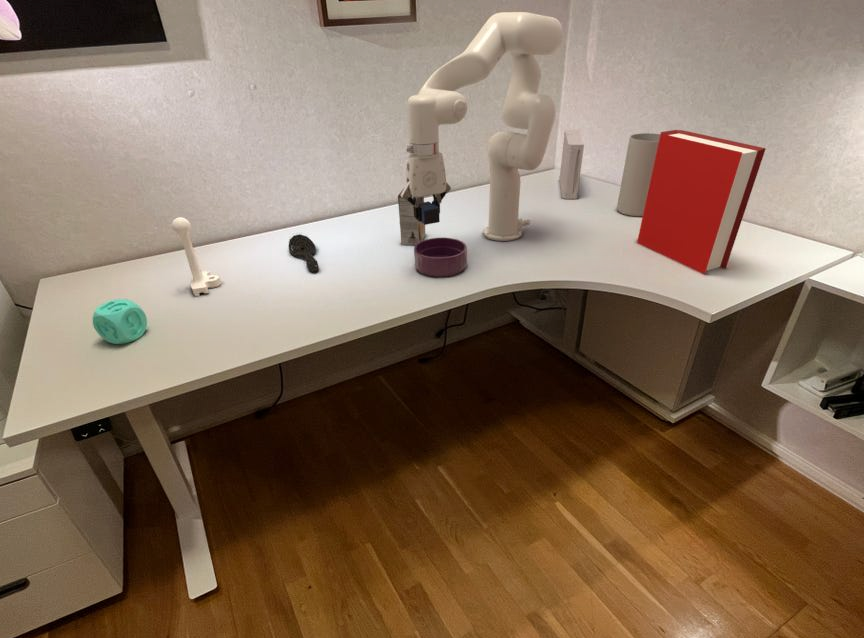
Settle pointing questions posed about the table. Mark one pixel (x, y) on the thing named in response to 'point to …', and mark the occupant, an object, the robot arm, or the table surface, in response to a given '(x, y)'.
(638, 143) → the cylinder vase
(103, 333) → the decorative dice
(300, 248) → the hairbrush
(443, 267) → the bowl
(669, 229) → the book
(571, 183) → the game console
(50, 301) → the table surface
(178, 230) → the joystick
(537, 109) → the robot arm
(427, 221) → the eraser
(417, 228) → the coffee box
